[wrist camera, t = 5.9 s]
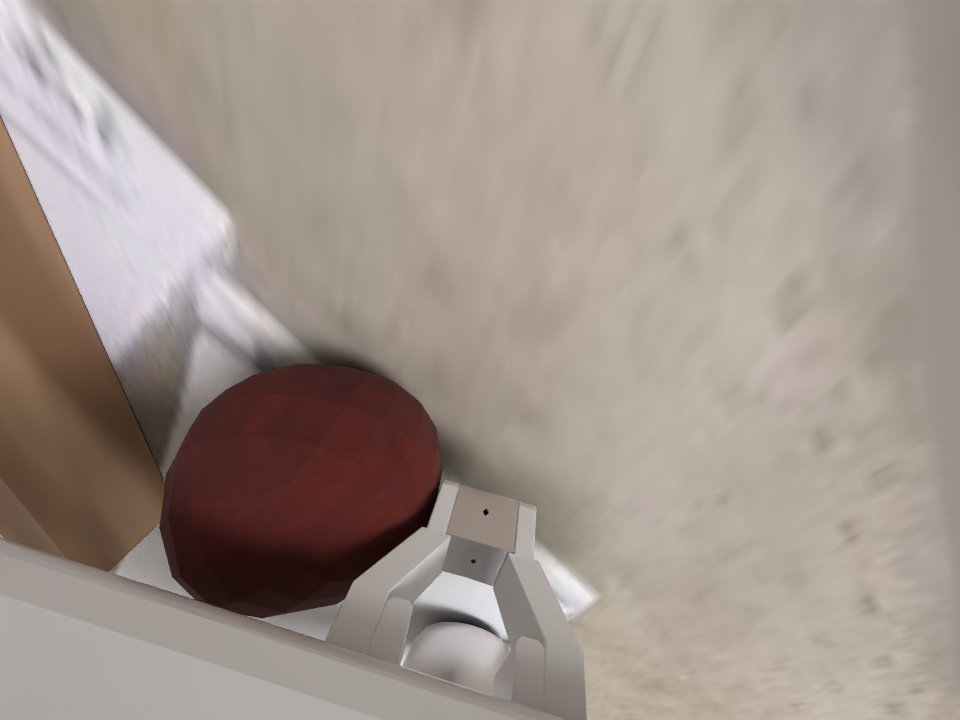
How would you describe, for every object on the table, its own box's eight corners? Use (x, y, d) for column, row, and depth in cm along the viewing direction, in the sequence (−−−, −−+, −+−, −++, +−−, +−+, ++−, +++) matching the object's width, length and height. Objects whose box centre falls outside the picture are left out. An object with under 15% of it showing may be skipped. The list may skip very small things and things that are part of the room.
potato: (504, 441, 14) (466, 667, 8) (355, 495, 17) (250, 679, 11) (379, 278, 11) (180, 430, 5) (234, 381, 15) (18, 541, 9)
